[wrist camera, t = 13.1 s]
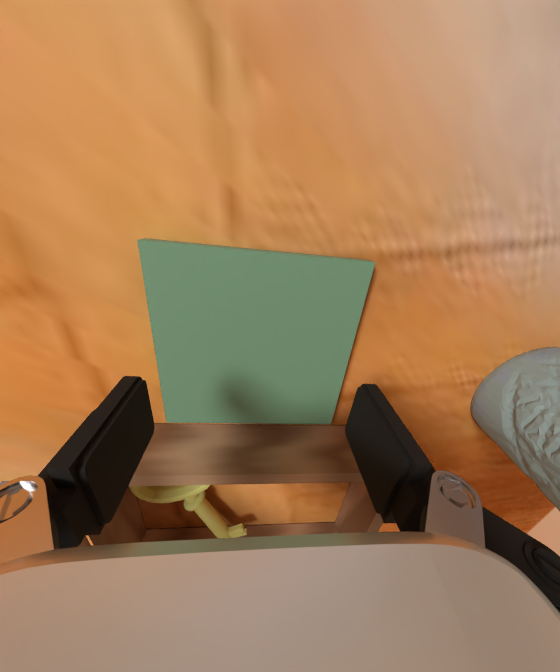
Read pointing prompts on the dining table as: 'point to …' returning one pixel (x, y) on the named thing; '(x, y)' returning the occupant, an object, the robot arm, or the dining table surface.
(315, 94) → the dining table surface
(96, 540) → the case
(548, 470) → the grey-blue cup
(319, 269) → the pad
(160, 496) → the key
